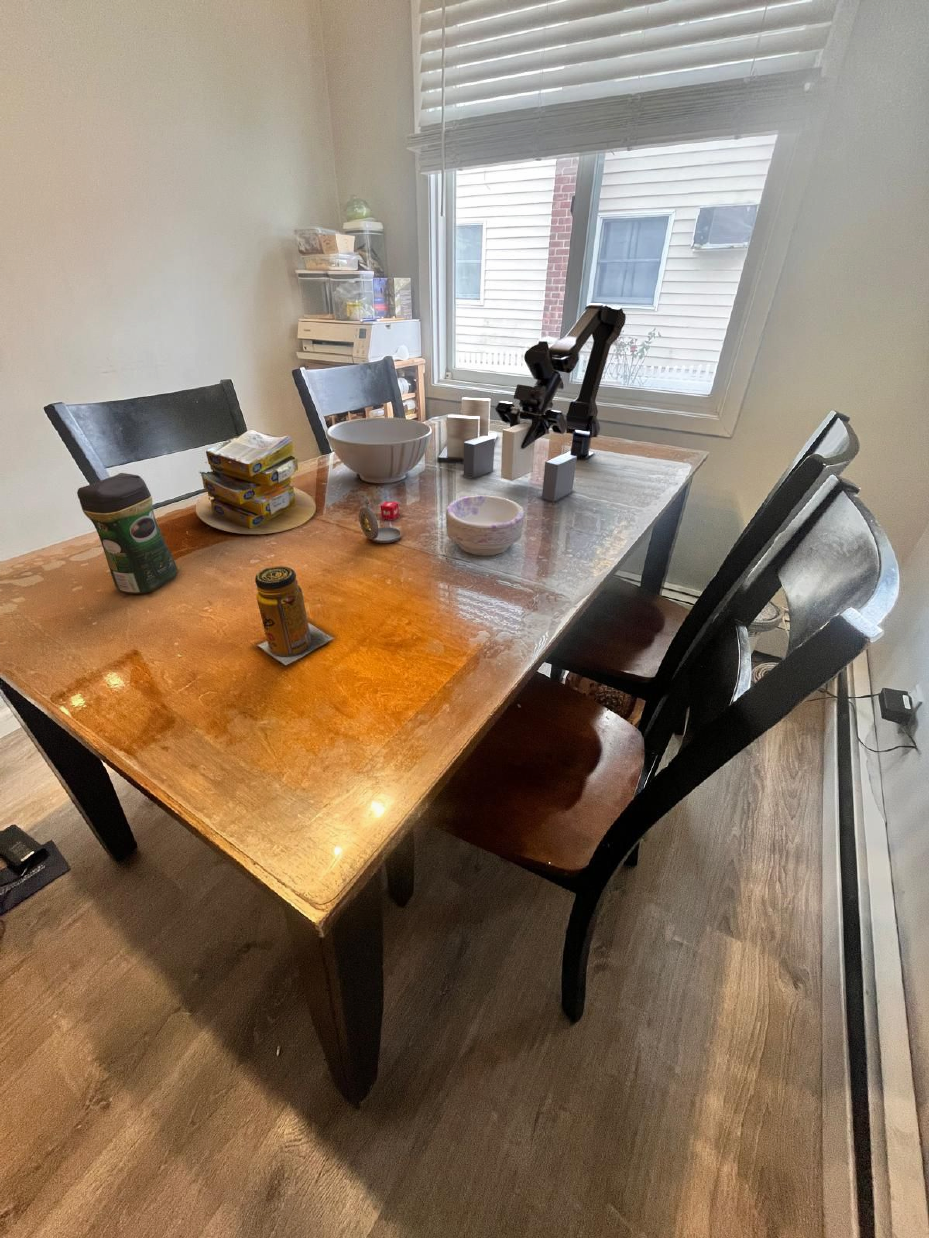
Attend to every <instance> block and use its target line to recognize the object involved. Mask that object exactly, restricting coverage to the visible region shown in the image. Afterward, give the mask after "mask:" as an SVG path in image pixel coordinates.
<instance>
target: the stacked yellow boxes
mask: <svg viewBox="0 0 929 1238" xmlns="http://www.w3.org/2000/svg"><path fill="white" fill-rule="evenodd" d="M205 450H206V451H205V455H206V459H207V461H205V462H204V463H205V464H207V463H208V465H209V467H210V471H207V472H206V471H199V472H198V474H199V475H200V476H201V481H202V486H203V490H206V493H204V494H203V495H202V496H201V497H199V498H198V500H197V502H196V504H195V513H196V515H197V517H198V518H199V519H200V520H201V521H202V522H203V523H205V524H207V525H209V526H210V527H212V528H215V529H218V530H221V531H225V532H229V533H236V534H242V535H267V534H273V533H275V534H276V533H280V532H284V531H285V532H286V531H288V530H292V529H295V528H297V527H300V526H302V525H303V524H305V523H306V522H307V521H309V520H310V519H311V518H313V516H314V514H315V513H316V509H317V505H316V502H315V500H314V499H313V498H312V497H311V496H310V494H308V493H307V492H305V491H303V490H301V489H298V488H297V487H294V486H292V485H291V483H292V476H293V475H294V474H295V472H297V471H298V470H299V463H298V458H297V456H293V455H294V453H295V451H294V441H293V440H292V439H291V437H290V436H289V435H284V436H277V435H273V434H269V433H263V432H262V431H256V430H253V429H248V430H246V432H244V433H242V434H240V435H236V436H234V437H232V438H229V439H228V438H227V439H226V440H225V441H224V442H223V443H219V444H217V445H215V446H213V447H210V448H206V449H205Z"/></svg>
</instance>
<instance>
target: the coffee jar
mask: <svg viewBox="0 0 929 1238" xmlns="http://www.w3.org/2000/svg"><path fill="white" fill-rule="evenodd" d="M76 495H77V499H78V500H79V504H80V507H81V510H82V512H83V514H84V515H85V516H86V517H87V519H89V520H90V521H91V523H92V524H93V526H94V528H95V530H96V532H97V534H98V535H97V536H99V537H98V538H99V541H100V544H101V546H102V549H103V552H104V555H105V558H106V562H107V565H108V569H109V572H110V576H111V578H112V581H113V584H114V586H115V588H116V589H117V590H119V591H120V592H123V593H125V594H129V595H139V594H141V595H142V594H148V593H151V592H153V591H155V590H157V589H159V588H161V587H163V586H164V585H166V584H167V583H169V582H170V581H171V580H173V579H175V578H176V577H177V575H178V573H179V568H178V566H177V564H176V563H177V562H176V561H175V559H174V556H173V555H172V553H171V550H170V549H169V546H168V545H167V542H166V540H165V538H164V535H163V533H162V531H161V529H160V527H159V525H158V522H157V519H156V516H155V513H154V508H153V496H152V494H151V492H150V490H149V488H148V486H147V484H146V481H145V480H144V479H143V478H142V477H141V476H140V475H138V474H133V473H126V472H119V473H118V474H115V475H113V476H110V477H107V478H104V479H101V480H99V481H96V482H94V483H91V484H88V485H85V486H81V487H78V489H77V491H76Z"/></svg>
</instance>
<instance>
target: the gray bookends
mask: <svg viewBox="0 0 929 1238" xmlns="http://www.w3.org/2000/svg"><path fill="white" fill-rule="evenodd" d="M495 442H496V440H495V438H493V437H489V436H481V437H478V438H475V439H472V440H469V441H466V442H464V457H463V463H462V464H463V468H462V472H463V473H462V476H463V477H465V478H469V479H476V478H479V477H482V476H484V475H486V474H488V473H491V472H494V466H495V465H494V461H495V444H496V443H495ZM577 459H578V458H577V456H573V455H569V454H566V453H562V454H559V455H558V456H555V457H553V458H551V459H548V460H546V461H545V462H544V473H543V480H542V490H541V491H542V492H541V499H542V500H547V501H550V502H556V501H558V500H560V499H561V498H564V497H565V496H567V495H569V494H571V493H573V488H574V481H575V474H576V467H577Z"/></svg>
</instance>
